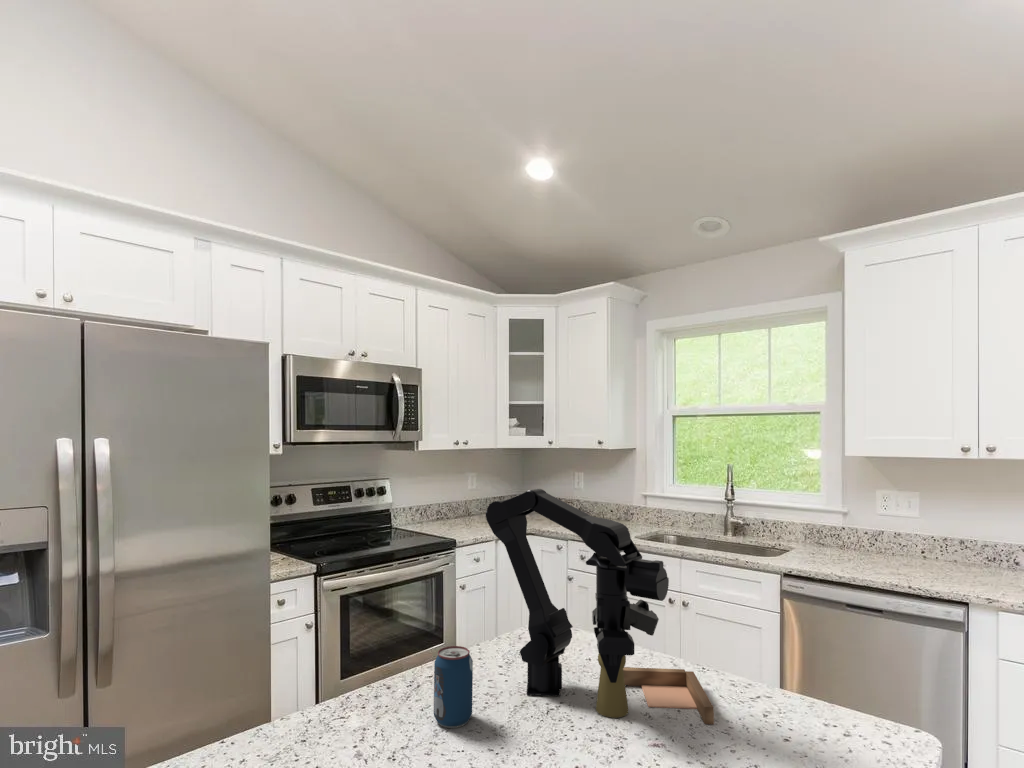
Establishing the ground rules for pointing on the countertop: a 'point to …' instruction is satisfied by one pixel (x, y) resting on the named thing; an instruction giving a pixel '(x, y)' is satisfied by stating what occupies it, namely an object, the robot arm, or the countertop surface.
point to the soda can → (453, 686)
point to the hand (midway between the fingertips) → (611, 676)
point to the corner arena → (671, 689)
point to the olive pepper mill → (612, 693)
